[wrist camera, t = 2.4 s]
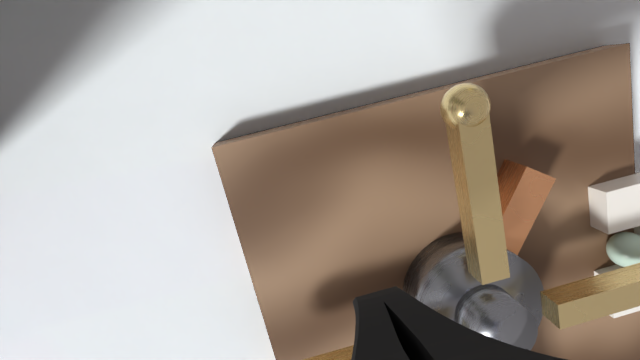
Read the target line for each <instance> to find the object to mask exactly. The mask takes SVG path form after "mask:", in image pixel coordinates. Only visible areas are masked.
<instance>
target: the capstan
mask: <svg viewBox="0 0 640 360" xmlns="http://www.w3.org/2000/svg"><path fill="white" fill-rule="evenodd" d="M490 110H491V102H490V99H489V96H488V94H487V93H486V91H485V90H484V89H483V88H481V87H480V86H478V85H476V84H472V83H461V84H458V85H456V86H453V87H452V88H450V89H449V90H448V91H447V92H446V93H445V95H444V96H443V98H442V101H441V104H440V113H441V116H442V119H443V121H444V122H445V124H446V130H447V137H448V143H449V149H450V156H451V162H452V169H453V175H454V181H455V188H456V194H457V201H458V207H459V213H460V220H461V226H462V232H456V233H451V234H448V235H445V236H442V237H440V238H438V239H436V240H435V241H433V242H431V243H430V244H428V245H427V246H426V247H425V248H424V249H423V250H422V251H421V252H420V253H419V254H418V255H417V256H416V257H415V259H414V260H413V261H412V263H411V265H410V267H409V269H408V271H407V273H406V276H405V280H404V285H403V291H405V292H406V293H408V294H409V295H411V296H412V297H414V298H415V299H417V300H419V301H420V302H422V303H423V304H425V305H427V306H428V307H430V308H431V309H433V310H435V311H437V312H438V313H440V314H442V315H444V316H445V317H447V318H449V319H451V320H453V321H455V322H457V323H459V324H461V325H463V326H465V327H467V328H469V329H471V330H474V331H476V332H478V333H481V334H483V335H486V336H488V337H491V338H494V339H496V340H499V341H501V342H504V343H507V344H510V345H513V346H517V347H520V348H523V349H527V350H530V351H531V349H532V348H533V346H534V344H535V342H536V339H537V335H538V327H539V325H540V322H541V319H542V316H543V315H544V316H545V317H546V318H547V319H548V320H550V321H551V322H552V323H553V324H554V325H555V326H557V327H558V328H559V329H560V330H561V329H564V328H567V327H571V326H574V325H577V324H581V323H584V322H588V321H591V320H594V319H598V318H601V317H605V316H608V315H611V314H615V313H618V312H621V311H625V310H628V309H632V308H635V307H638V306H640V263H637V264H633V265H630V266H627V267H623V268H620V269H616V270H613V271H609V272H606V273H602V274H599V275H595V276H592V277H588V278H585V279H581V280H578V281H574V282H571V283H567V284H564V285H561V286H557V287H554V288H550V289H547V290H544V289H543V285H542V282H541V280H540V278H539V276H538V274H537V273H536V271H535V270H534V269H533V267H532V266H530V265H529V264H528V263H527V262H526V261H524V260H523V259H522V258H520V257H519V256H517V255H518V253H519V251H520V249H521V247H522V245H523V243H524V241H525V239H526V237H527V235H528V233H529V232H530V230H531V228H532V226H533V224H534V222H535V220H536V218H537V216H538V214H539V212H540V210H541V208H542V206H543V204H544V202H545V200H546V198H547V196H548V194H549V192H550V190H551V188H552V186H553V184H554V182H555V180H556V178H553V177H551V176H549V175H546V174H544V173H541V172H539V171H537V170H534V169H532V168H529V167H527V166H524V165H521V164H518V163H515V162H512V161H509V160H506V159H505V160H504V162H503V164H502V166H501V168H500V170H499V172H498V174H497V170H496V162H495V154H494V147H493V139H492V131H491V123H490V115H489V114H490ZM353 346H354V345H352V346H349V347H345V348H342V349H338V350H335V351H331V352H328V353H324V354H321V355H317V356H314V357H310V358H307V359H304V360H351V358H352V352H353Z"/></svg>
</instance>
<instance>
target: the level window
mask: <svg viewBox="0 0 640 360" xmlns="http://www.w3.org/2000/svg"><path fill="white" fill-rule="evenodd" d="M588 197H589V211H590V225H591V227H593V228H595V229H598V230H600V231H602V232H604V233H606V234H612V233H616V232H619V231H623V230H626V229H630V228H634V233H632V232H619V233H616V234H614V235H613V236H611V237H610V238H609V240H608V241H607V244H606V252H607V255H608V257H609V258H610V259H611V260H612V261H613V262H614V263H615V264H616V265H612V266H609V267H605V268H602V269H598V270H595V271H594V276H595V275H599V274H602V273H606V272H609V271H613V270H616V269H620V268H623V267H627V266H630V265H633V264H637V263H640V172H639V173H636V174H632V175H628V176H625V177H621V178H617V179H614V180H610V181H606V182H603V183H599V184H595V185H592V186H588ZM637 311H640V306H638V307H635V308H632V309H628V310H625V311H621V312H618V313H615V314H611V315H609V316H611V317H612V318H617V317H620V316H624V315H627V314H630V313H634V312H637Z"/></svg>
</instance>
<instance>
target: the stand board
mask: <svg viewBox="0 0 640 360" xmlns="http://www.w3.org/2000/svg"><path fill="white" fill-rule="evenodd" d="M461 83H472V84H476V85H478V86H480V87H481V88H483V89H484V90H485V91H486V93H487V94H488V96H489V99H490V102H491V110H490V114H489V115H490V123H491V131H492V139H493V147H494V154H495V162H496V170H497V174H498V172H499V170H500V168H501V166H502V164H503V162H504V160H505V159H506V160H509V161H512V162H515V163H518V164H521V165H524V166H527V167H529V168H532V169H534V170H537V171H539V172H541V173H544V174H546V175H549V176H551V177H553V178H556V180H555V182H554V184H553V186H552V188H551V190H550V192H549V194H548V196H547V198H546V200H545V202H544V204H543V206H542V208H541V210H540V212H539V214H538V216H537V218H536V220H535V222H534V224H533V226H532V228H531V230H530V232H529V233H528V235H527V237H526V239H525V241H524V243H523V245H522V247H521V249H520V251H519V253H518V255H517V256H519V257H520V258H522V259H523V260H524V261H526V262H527V263H528V264H529V265H530V266H532V267H533V269H534V270H535V271H536V273H537V274H538V276H539V278H540V280H541V282H542V285H543V289H544V290H547V289H550V288H554V287H557V286H561V285H564V284H567V283H571V282H574V281H578V280H581V279H585V278H588V277H592V276H594V271H595V270H598V269H602V268H605V267H609V266H612V265H616V264H615V263H614V262H613V261H612V260H611V259H610V258H609V257H608V255H607V252H606V244H607V241H608V240H609V238H610V237H611V236H613V235H614V234H616V233H619V232H632V233H634V228H630V229H626V230H623V231H619V232H616V233H612V234H606V233H604V232H602V231H600V230H598V229H595V228H593V227H591V225H590V211H589V197H588V186H592V185H595V184H599V183H603V182H606V181H610V180H614V179H617V178H621V177H625V176H628V175H632V174H635V163H634V139H633V115H632V91H631V67H630V43H626V44H616V45H606V46H601V47H597V48H593V49H589V50H585V51H581V52H577V53H573V54H569V55H565V56H561V57H557V58H553V59H549V60H545V61H541V62H537V63H533V64H529V65H525V66H521V67H517V68H513V69H509V70H505V71H501V72H497V73H493V74H489V75H485V76H481V77H477V78H473V79H469V80H465V81H461V82H457V83H453V84H449V85H445V86H441V87H437V88H433V89H429V90H425V91H421V92H417V93H413V94H409V95H405V96H401V97H397V98H393V99H389V100H385V101H381V102H377V103H373V104H369V105H365V106H361V107H357V108H353V109H349V110H345V111H341V112H337V113H333V114H328V115H324V116H320V117H316V118H312V119H308V120H304V121H300V122H296V123H292V124H288V125H284V126H280V127H276V128H272V129H268V130H264V131H260V132H256V133H252V134H248V135H244V136H240V137H236V138H232V139H228V140H224V141H220V142H216V143H215V144H214V145H213V146H212V151H213V154H214V157H215V161H216V164H217V167H218V170H219V174H220V177H221V180H222V184H223V187H224V190H225V193H226V197H227V200H228V203H229V207H230V210H231V213H232V217H233V220H234V223H235V226H236V230H237V233H238V236H239V240H240V243H241V246H242V250H243V253H244V256H245V259H246V263H247V266H248V269H249V273H250V276H251V279H252V282H253V286H254V289H255V292H256V296H257V299H258V302H259V306H260V309H261V312H262V315H263V319H264V322H265V325H266V329H267V332H268V335H269V339H270V342H271V345H272V348H273V352H274V355H275V358H276V360H304V359H307V358H310V357H314V356H317V355H321V354H324V353H328V352H331V351H335V350H338V349H342V348H345V347H349V346H352V345H354V339H355V325H356V317H355V310H354V306H353V300H354V299H355V297H358V296H362V295H366V294H369V293H373V292H376V291H380V290H383V289H387V288H391V287H394V286H397V287H398V288H400V289H402V290H403V285H404V280H405V276H406V273H407V271H408V269H409V267H410V265H411V263H412V261H413V260H414V259H415V257H416V256H417V255H418V254H419V253H420V252H421V251H422V250H423V249H424V248H425V247H426V246H427V245H428V244H430V243H431V242H433V241H435V240H436V239H438V238H440V237H442V236H445V235H448V234H451V233H456V232H462V226H461V220H460V213H459V207H458V201H457V194H456V188H455V181H454V175H453V169H452V162H451V156H450V149H449V143H448V137H447V130H446V124H445V122H444V121H443V119H442V116H441V113H440V104H441V101H442V98H443V96H444V95H445V93H446V92H447V91H448V90H449V89H450V88H452V87H453V86H456V85H458V84H461ZM531 351H534V352H537V353H541V354H545V355H549V356H553V357H558V358H563V359H568V360H640V311H637V312H634V313H630V314H627V315H624V316H620V317H617V318H612V317H611V316H609V315H608V316H605V317H601V318H598V319H594V320H591V321H588V322H584V323H581V324H577V325H574V326H571V327H567V328H564V329H561V330H560V329H559V328H558V327H557V326H555V325H554V324H553V323H552V322H551V321H550V320H548V319H547V318H546V317H545V316H544V315H543V316H542V319H541V322H540V325H539V327H538V335H537V339H536V342H535V344H534V346H533V348H532V349H531Z"/></svg>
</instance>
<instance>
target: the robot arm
mask: <svg viewBox="0 0 640 360" xmlns="http://www.w3.org/2000/svg"><path fill="white" fill-rule="evenodd" d="M353 306H354V310H355V317H356V325H355V339H354V346H353V352H352V358H351V360H568V359H563V358H558V357H553V356H549V355H545V354H541V353H537V352H534V351H530V350H527V349H523V348H520V347H517V346H513V345H510V344H507V343H504V342H501V341H499V340H496V339H494V338H491V337H488V336H486V335H483V334H481V333H478V332H476V331H474V330H471V329H469V328H467V327H465V326H463V325H461V324H459V323H457V322H455V321H453V320H451V319H449V318H447V317H445V316H444V315H442V314H440V313H438V312H437V311H435V310H433V309H431V308H430V307H428V306H427V305H425V304H423V303H422V302H420V301H419V300H417V299H415V298H414V297H412V296H411V295H409V294H408V293H406V292H405V291H403V290H402V289H400V288H398V287H397V286H394V287H391V288H387V289H383V290H380V291H376V292H373V293H369V294H366V295H362V296H358V297H355V299H354V300H353Z"/></svg>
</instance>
